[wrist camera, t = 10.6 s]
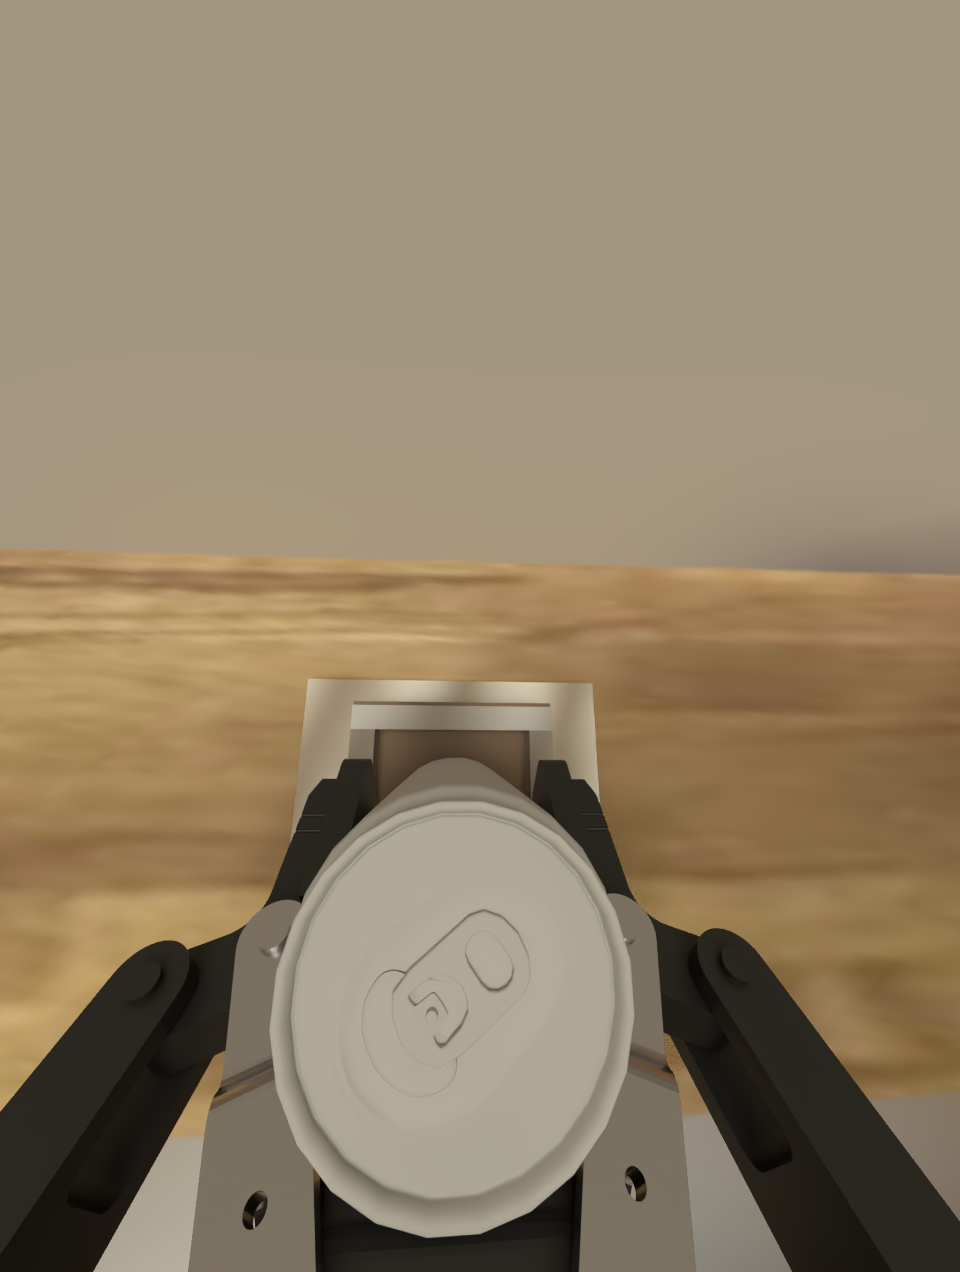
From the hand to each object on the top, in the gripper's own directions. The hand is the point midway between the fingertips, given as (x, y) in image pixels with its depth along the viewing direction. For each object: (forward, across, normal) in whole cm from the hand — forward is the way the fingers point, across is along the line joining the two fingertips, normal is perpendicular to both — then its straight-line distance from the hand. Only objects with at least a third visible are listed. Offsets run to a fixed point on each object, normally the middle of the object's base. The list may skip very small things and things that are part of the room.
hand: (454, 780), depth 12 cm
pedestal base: (+7, 0, +10) cm, 12 cm away
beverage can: (+3, 0, +6) cm, 6 cm away
